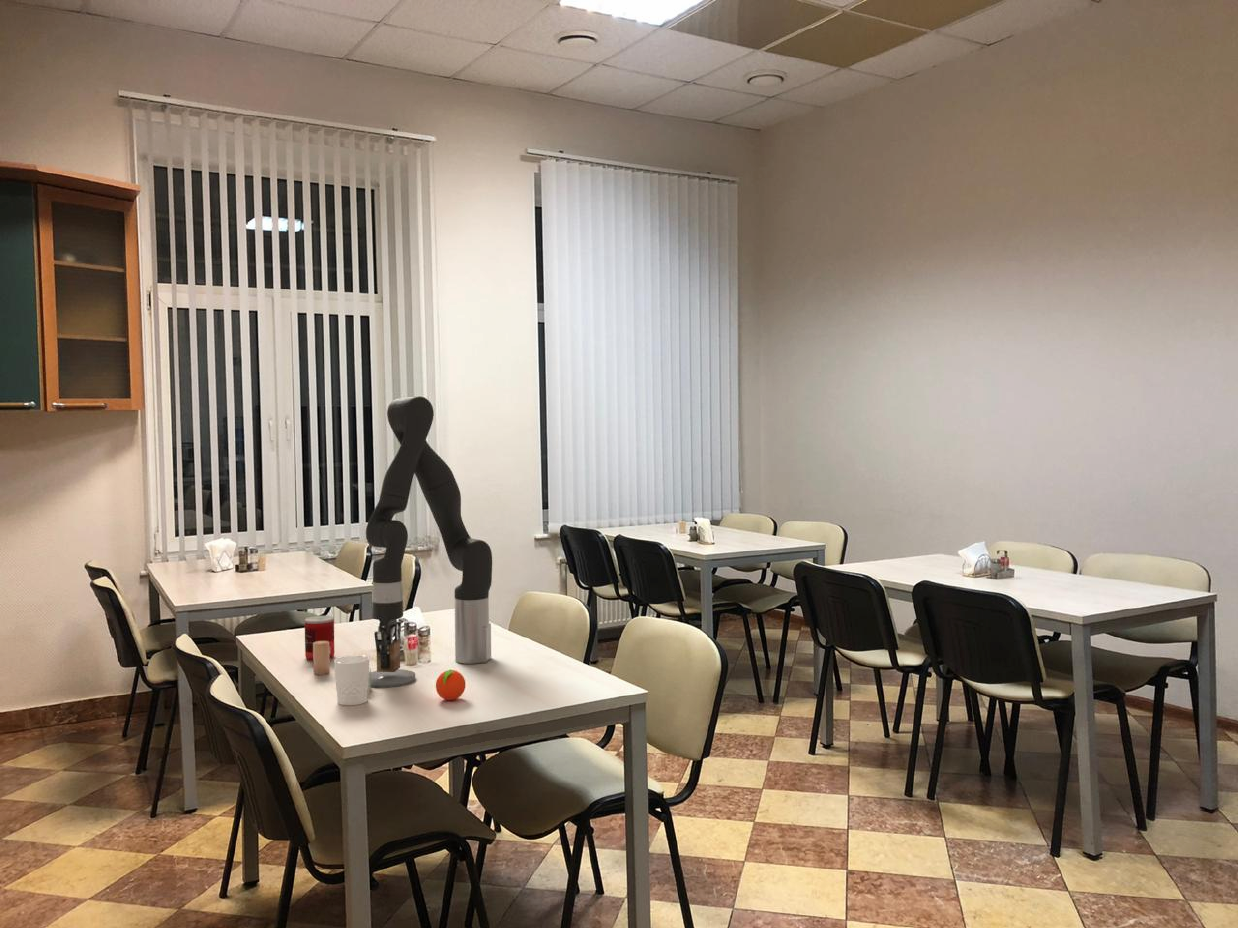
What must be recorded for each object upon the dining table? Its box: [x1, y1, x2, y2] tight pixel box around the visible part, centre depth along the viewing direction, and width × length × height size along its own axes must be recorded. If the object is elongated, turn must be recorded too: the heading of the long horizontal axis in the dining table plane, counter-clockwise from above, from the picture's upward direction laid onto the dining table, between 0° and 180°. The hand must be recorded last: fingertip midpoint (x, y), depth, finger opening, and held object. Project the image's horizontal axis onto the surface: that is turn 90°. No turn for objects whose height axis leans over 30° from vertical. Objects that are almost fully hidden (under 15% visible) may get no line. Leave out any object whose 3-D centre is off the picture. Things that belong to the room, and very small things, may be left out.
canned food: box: [304, 615, 335, 662], centre depth 269 cm, size 8×8×11 cm
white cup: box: [333, 654, 370, 706], centre depth 226 cm, size 8×8×10 cm
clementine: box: [435, 669, 466, 701], centre depth 227 cm, size 8×7×7 cm
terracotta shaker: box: [312, 641, 331, 676], centre depth 252 cm, size 4×4×8 cm
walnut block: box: [376, 639, 401, 672], centre depth 244 cm, size 4×4×7 cm
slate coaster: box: [371, 668, 416, 688], centre depth 245 cm, size 13×13×1 cm
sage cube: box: [368, 667, 372, 695], centre depth 235 cm, size 5×5×5 cm
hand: (388, 666), depth 245 cm, fingers closed on walnut block, 4 cm apart
